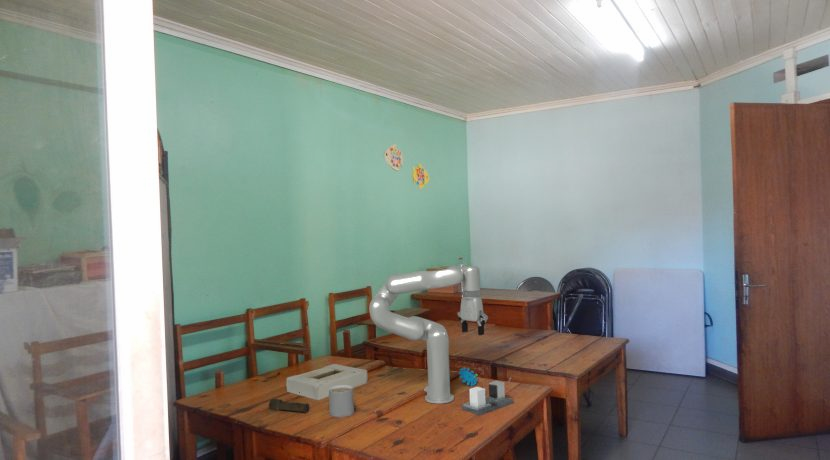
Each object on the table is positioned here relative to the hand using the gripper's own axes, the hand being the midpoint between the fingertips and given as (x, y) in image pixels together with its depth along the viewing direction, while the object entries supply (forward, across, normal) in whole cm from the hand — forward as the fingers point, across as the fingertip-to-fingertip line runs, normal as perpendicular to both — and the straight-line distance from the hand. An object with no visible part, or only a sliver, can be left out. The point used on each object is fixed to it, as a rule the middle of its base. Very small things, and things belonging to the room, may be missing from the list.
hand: (472, 333), depth 227 cm
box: (+29, -62, -37) cm, 78 cm away
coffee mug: (+28, -27, -50) cm, 64 cm away
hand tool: (+29, -45, -67) cm, 86 cm away
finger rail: (+28, +11, -4) cm, 31 cm away
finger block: (+27, +11, -10) cm, 31 cm away
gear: (+29, -16, +13) cm, 35 cm away
